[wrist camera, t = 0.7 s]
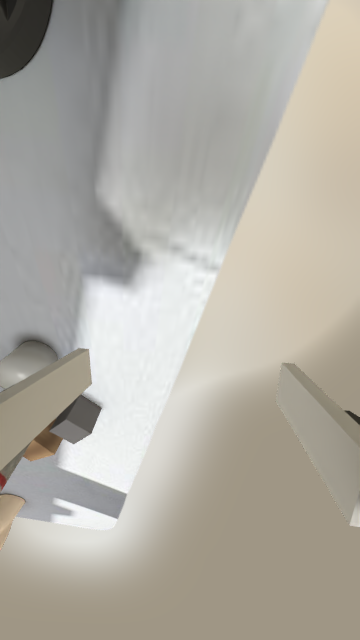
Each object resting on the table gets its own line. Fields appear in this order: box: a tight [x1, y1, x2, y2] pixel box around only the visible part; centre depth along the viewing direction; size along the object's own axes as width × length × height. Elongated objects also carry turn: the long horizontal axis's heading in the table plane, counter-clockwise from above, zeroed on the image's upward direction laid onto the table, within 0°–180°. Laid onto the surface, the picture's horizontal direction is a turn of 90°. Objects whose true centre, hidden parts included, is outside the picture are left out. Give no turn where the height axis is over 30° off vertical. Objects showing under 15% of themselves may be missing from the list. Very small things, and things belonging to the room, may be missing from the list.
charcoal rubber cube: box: [49, 395, 102, 444], centre depth 35 cm, size 5×5×5 cm
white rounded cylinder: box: [0, 341, 58, 389], centre depth 29 cm, size 6×6×5 cm
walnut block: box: [23, 419, 63, 461], centre depth 38 cm, size 6×6×5 cm
